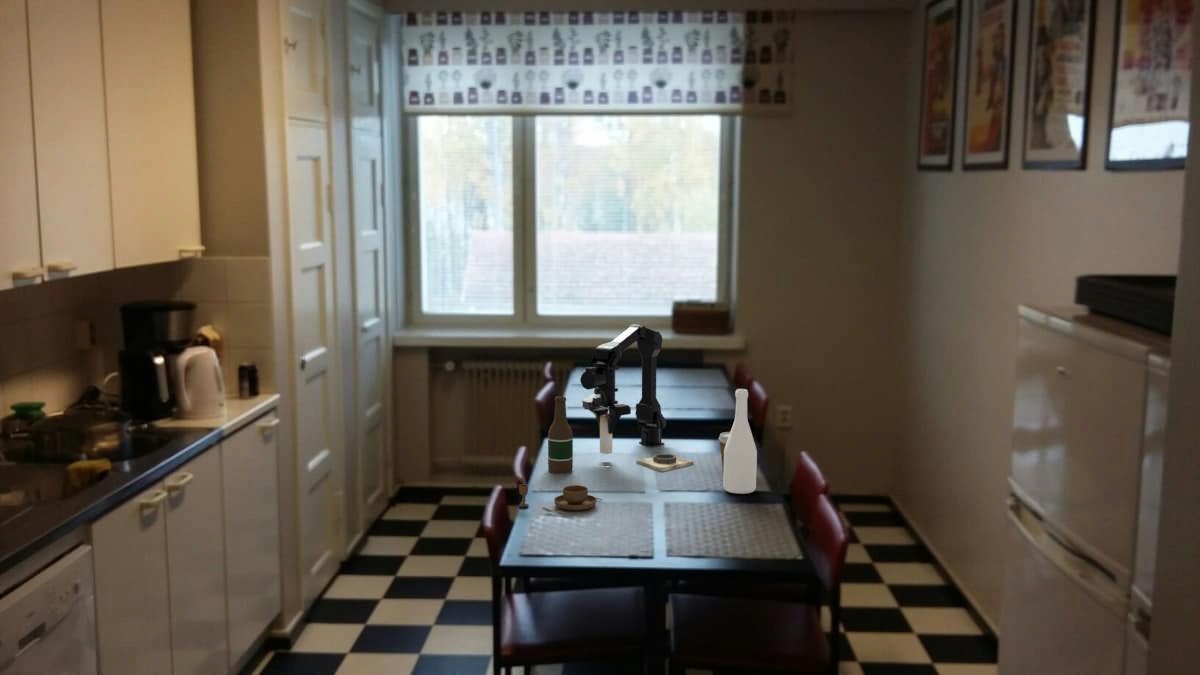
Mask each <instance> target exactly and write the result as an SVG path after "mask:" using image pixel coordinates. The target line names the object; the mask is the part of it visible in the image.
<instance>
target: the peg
mask: <svg viewBox="0 0 1200 675" xmlns="http://www.w3.org/2000/svg"><path fill="white" fill-rule="evenodd" d="M599 453H600V454H603V455H605V454H606V455H608V454H609V455H610V454H612V453H613V433H612V434H609V432H608V421H607V417H606V416H605V415H600V428H599Z"/></svg>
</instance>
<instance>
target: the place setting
mask: <svg viewBox="0 0 1200 675" xmlns="http://www.w3.org/2000/svg"><path fill="white" fill-rule="evenodd" d="M518 491H519V494H520V495H521V497H522V498H521V502H522V503H520V504H518V507H520V508H527V507H529V506H530V505H529V503H526V496H527V495H528V492H529V485H528V484H526V483H523V484H519V489H518ZM588 493H589V490H588V486H584V485H578V484H577V485H576V484H574V485H567V486H564V487H563V488H562V494H561V495H557V496H555V497H554V499H553V501H554V504H555V506H556V507H557V508H558V507H559V508H560V509H562V510H566V511H567V510H568V511H584V510H589V509H591V508H593V507H594V506H595V505H596V504H597V500H600V501H602V500H603V498H599V497H595V496H593V495H590V494H588ZM542 510H544V511H546V512H549V513H551V512H555V513H559V514H560V513H561V514H566V515H571V516H572V515H573V516H574V513H570V512H565V511H560V510H559V511H558V510H551V509H550V508H549V509H548V508H547V507H545V506H543V507H542Z"/></svg>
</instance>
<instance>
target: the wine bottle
mask: <svg viewBox="0 0 1200 675" xmlns="http://www.w3.org/2000/svg"><path fill="white" fill-rule="evenodd" d="M734 396H735V413H734V414H735V416H734V421H733V424H732V427H731V430H730V431H729V432H730V435H729V437H728V440H727V443H726V446H725V449H724V472H723V479H722V480H723V483H722V484H723V489H724V490H725V491H726V492H728V493H732V494H739V495H740V494H742V495H745V494H751V493H753V492H755V490H756V488H757V464H758V463H757V461H758V460H757V458H758V450H757V447H756V443H755V441H754V440H755V439H754V437H753V434H752V430H751V427H750V423H749V421H748V398H749V392H748V389H745V388H736V390H735V393H734Z"/></svg>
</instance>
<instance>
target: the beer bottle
mask: <svg viewBox="0 0 1200 675" xmlns="http://www.w3.org/2000/svg"><path fill="white" fill-rule="evenodd" d="M566 401H567V398H566V396H562V395H558V396H555V397H554V404H555V405H554V417H553V422H552V423H551V425H550V427H549V430H548V434H547V435H548V436H547V468H548V471H549V473H551V474H555V475H556V474H557V475H565V474H570V473H572V472H573V468H574V467H573V466H574V465H573V464H574V461H573V460H574V455H573V454H574V451H573V450H574V446H573V445H574V441H573V440H574V439H573V436H574V435H573V431H572V428H571V426H570V424H569V423H568V419H567V418H568V417H567V405H566Z"/></svg>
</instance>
